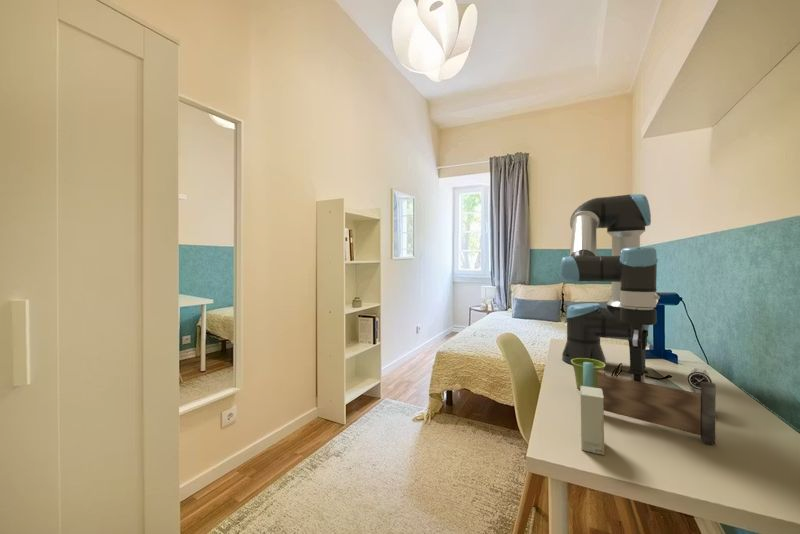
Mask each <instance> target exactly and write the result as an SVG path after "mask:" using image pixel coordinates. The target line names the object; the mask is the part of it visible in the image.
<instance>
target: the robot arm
mask: <svg viewBox="0 0 800 534" xmlns="http://www.w3.org/2000/svg"><path fill="white" fill-rule="evenodd" d="M651 216H652V215H651V208H650V203H649V200H648V198H647V196H646V195H645V194H642V193H641V194H640V193H639V194H638V193H634V194H631V193H630V194H624V195H614V196H605V197H604V196H602V197H600V196H599V197H595V198H591V199H589V200H586V201H585V202H583V203H582V204H581V205H579V206H578V207H577V208H576V209H575V210H574V211H573V212H572V214H571V216H570V219H569V221H570V222H569V225H570V229H571V238H570V239H571V240H570V250H569V255H568V256H564V257H562V258H561V262H560V274H561V278H562V280H564V281H570V282H571V281H572V282H609V283H610V282H611V299H610V300H609V301H608V302H607V303H606V307H602V306H601V304H600V303H595V302H594V303H592V302H590V303H588V302H587V303H577V304H572V305H571V304H570V305H569V306H568V307H567V310H566V317H565V318H566V342H565V346H564V349H563V351H562V354H561V359H562V361H563V362H565V363H566V364H569V365H572V366H573V364H572V363H571V360H572V359H575V358H587V359H594V360H598V361H601V362H603V363H605V365H606V360H607V359H606V356H605V353H604V351H603V348H602V345H601V338H603V339H604V338H605V339H613V340H614V339H615V340H622V341H628V347H629V368H630V369H629V370H627V374H630V380H634V381H639V382H644V383H646V374H647V375H648V374H649V370H646V368H647V366H646V351H647V349H646V348H647V345H648V336H649V328H650V326H653V325H656V324H657V323H658V319H657V316H658V315H657V312H658V310H656V307H657V300H660V298H661V296H660V295H658V294H657V271H658V270H657V269H658V266H657V265H658V261H659V260H658V257H657V249H656V248H655V247H652V246H651V247H650V246H641V236H642V234H644V233H645V232H646V227H649V226H650V225H651V222H652V220H651V219H652V217H651ZM598 229H606V233H607V234H608V235H609V236H610V237H611V255H598V254H597V251H598V250H597V248H598V247H597V230H598Z"/></svg>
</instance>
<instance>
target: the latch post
mask: <svg viewBox="0 0 800 534" xmlns="http://www.w3.org/2000/svg"><path fill="white" fill-rule="evenodd" d="M583 386H587V387H593V363H590V362H583Z"/></svg>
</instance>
